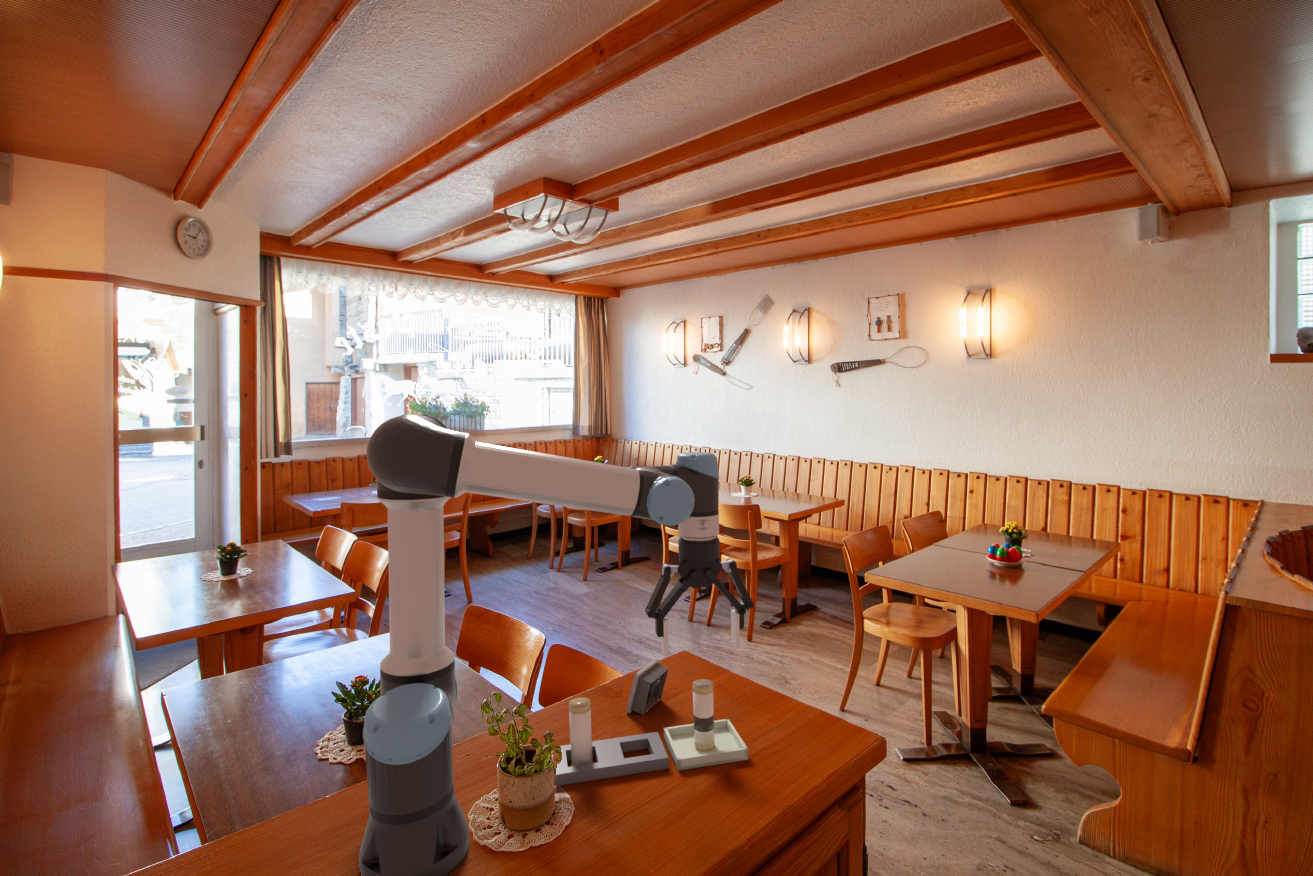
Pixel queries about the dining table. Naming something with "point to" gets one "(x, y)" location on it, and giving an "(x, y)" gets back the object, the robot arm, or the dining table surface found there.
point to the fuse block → (614, 759)
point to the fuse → (580, 731)
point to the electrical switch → (647, 687)
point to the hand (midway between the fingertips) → (700, 649)
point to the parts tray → (688, 756)
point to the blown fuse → (703, 715)
